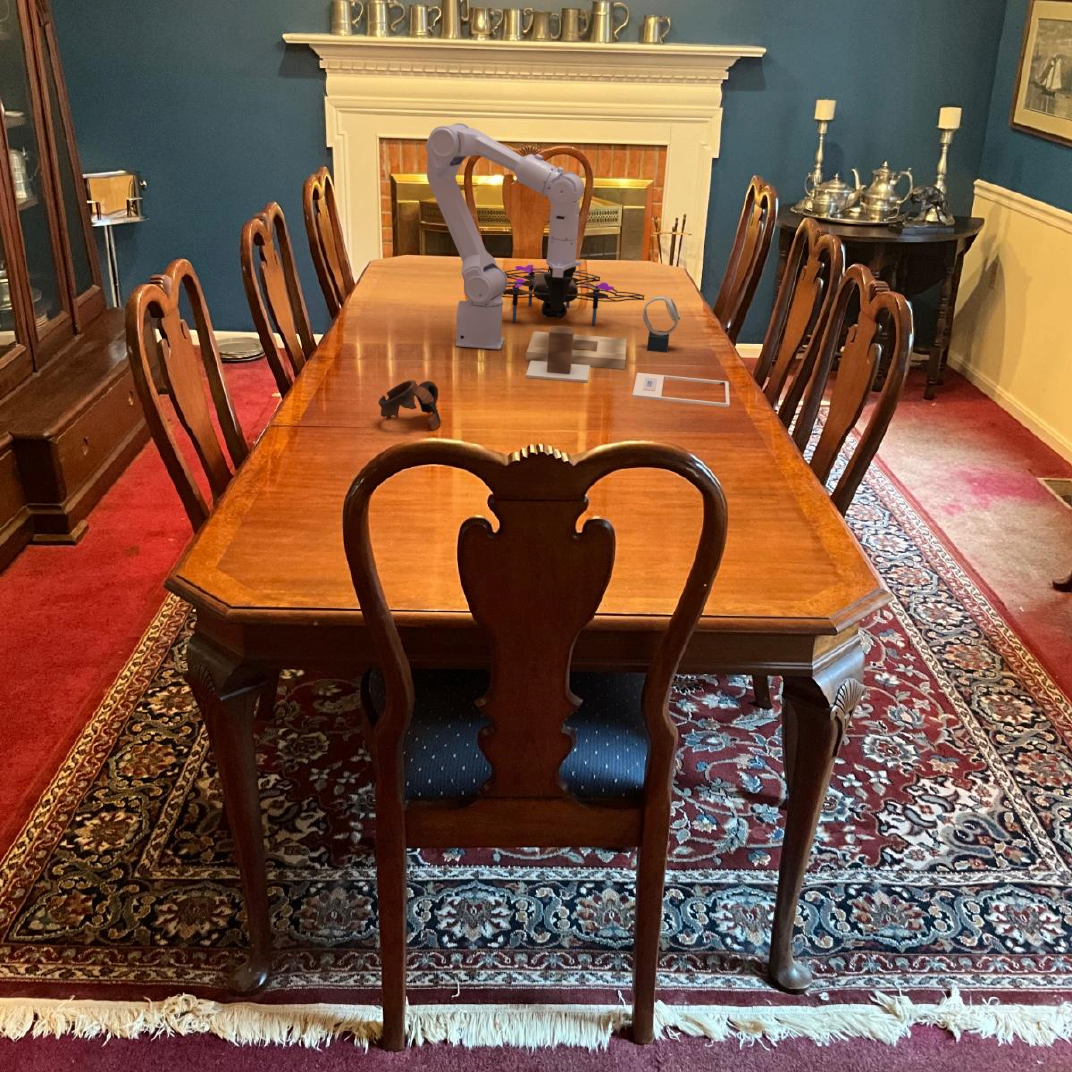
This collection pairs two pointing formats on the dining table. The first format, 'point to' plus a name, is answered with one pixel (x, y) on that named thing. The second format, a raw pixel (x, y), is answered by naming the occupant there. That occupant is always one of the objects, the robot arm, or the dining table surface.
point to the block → (560, 350)
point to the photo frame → (653, 384)
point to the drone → (541, 292)
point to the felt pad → (540, 372)
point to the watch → (660, 338)
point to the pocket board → (607, 348)
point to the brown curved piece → (412, 400)
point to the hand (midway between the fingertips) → (558, 305)
